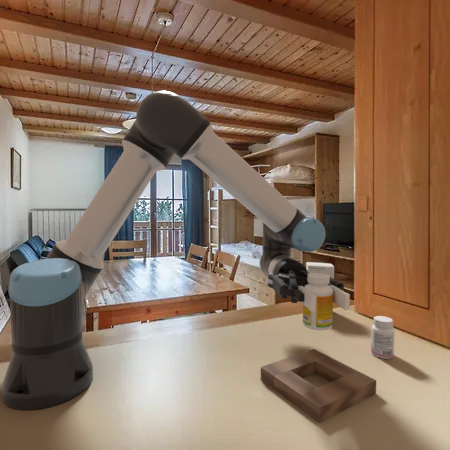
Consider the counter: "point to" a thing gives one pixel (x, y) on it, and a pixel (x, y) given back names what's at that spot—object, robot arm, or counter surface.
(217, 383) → the counter surface
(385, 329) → the pill bottle
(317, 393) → the socket block
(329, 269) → the skincare box
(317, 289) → the supplement bottle
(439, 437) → the counter surface
